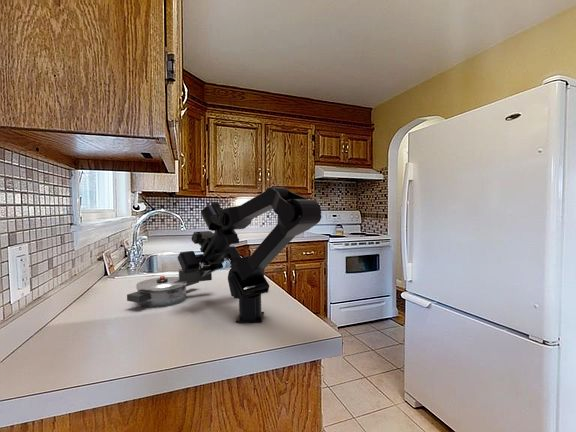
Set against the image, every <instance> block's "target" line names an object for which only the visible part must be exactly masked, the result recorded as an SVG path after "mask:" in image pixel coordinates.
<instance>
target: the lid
mask: <svg viewBox="0 0 576 432" xmlns="http://www.w3.org/2000/svg"><path fill="white" fill-rule="evenodd" d="M212 273H213V272H212ZM212 273H210V274H208V275H205V276H203V277H201V275H200V267H199V269H198V270H197V271H196V272H192V273H184V272H183V270H182V268H180V269H178V276H164V275H160V276H159V277H154V278H149V279H145V280H141V281H140V282H137V283H136V284H135V288H136V290H137V291H138V290H140V291H165V290H171V289H176V288H179V287H182V286H184V285H186V284H187V283H190V282H199V283H200V282H207V281H212V280H213V276H212V275H213V274H212Z"/></svg>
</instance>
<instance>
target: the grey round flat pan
mask: <svg viewBox="0 0 576 432" xmlns="http://www.w3.org/2000/svg"><path fill="white" fill-rule="evenodd" d="M198 283H200V281H199V282H190V283H187V284H186V285H184V286H182V287H179V288H176V289H171V290H165V291H140V290H137V291H134V292H131V293H128V294H126V301H127V302H132V303H137V305H138V306H139V307H142V308H152V309H153V308H164V307H169V306H170V307H171V306H174V305H177V304H180V303H182V302H184V301H186V299H187V287H189V286H192V285H196V284H198Z"/></svg>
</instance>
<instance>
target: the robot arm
mask: <svg viewBox="0 0 576 432" xmlns="http://www.w3.org/2000/svg"><path fill="white" fill-rule="evenodd" d="M271 210H273V213H275V214H276V215H277V224H276V225H275V226H274V228H272V229H271V231H270V232H269V234H268V235H267V236H266V237H264V239H263V240H262V241H261V243H260V244H259V245H258V246H257V248H255V250H254V251H253V252H252V253H251V254H250V255H247V256H241V254H240V253H239V250H238V248H237V247H236V246H234V245H236V244H239V243H240V239H239V237H238V233H237V231H235V230H244V229H246V228H248V226H250V225H251V224H252V221H253V219H255V218H257V217H260V216H261V215H263V214H265V213H267V212H269V211H271ZM200 215H201V217H202V219H203V221H204V223H205V225H206V226H207V228H208V230H207V231H206V230H205V231H204V230H202V231H193V233H192V236H191V242H192V243H193V244H195V245H199V246H200V248H199V250H200V252H201V253H200V254H196V253H195V251H194V250H188V251H181V252H180V253H179V254H178V256H177V261H178V263H179V265H180V269H182V270H183V272H184V273H192V272H196V271H197V270H198V269H199V267H200V275H201V277H203V276H205V275H208V274H210V273H214V272H216V271H219V270H221V269H223V268H224V264H223V263H224V262H226V261H227V262H229V261H230V262H229V264H230V266H229V267H230V269H229V271H228V273H227V274H228V275H227V282H228V287H229V291H230V295H231V297H233V299H235V300H237V299H238V315H237V317H236V319H235V323H262V322H263V319H264V315H265V311H262V295H263V294H266V293H269V290H270V284H269V281H267V279H266V277H265V274H266V273H265V269H266V268H267V267H268V266H269V265H270V264H271V263H272V261H273V260H274V259H276V257H277V256H278V255H279V254H280V253H281V252H282V251H283V250H284V249H285V248H286V247H287V246H288V244H289V243H291V241H292V240H293V239H294V238H295V237H296V236H298V235H300V234H303V233H304V232H307V231H309V230H310V229H312V228H313V227H315V226H316V225H318V224H319V223H320V222H321V219H322V217H323V216H322V208H321V205H320V203H319V202H318V201H317V200H315V199H309V198H307V197H304V196H303V195H300V194H298V193H295V192H293V191H291V190H290V189H288V188H287V187H285V186H284V187H283V186H270V187H267V188H266V190H265V191H263V192H261V193H259V194H258V195H255V196H254V197H253V198H250V199H249V200H248V201H245V202H244V203H242V204H240V205H236V206H235V205H234V206H229V207H225V208H222V207H221V205H220V203H219V201H212V202H211V204H209V205H206V206H205V207H203V209H202V210H201V211H200ZM213 231H214V232H213ZM250 286H255V287H252V288H248V289H247V287H250Z"/></svg>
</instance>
